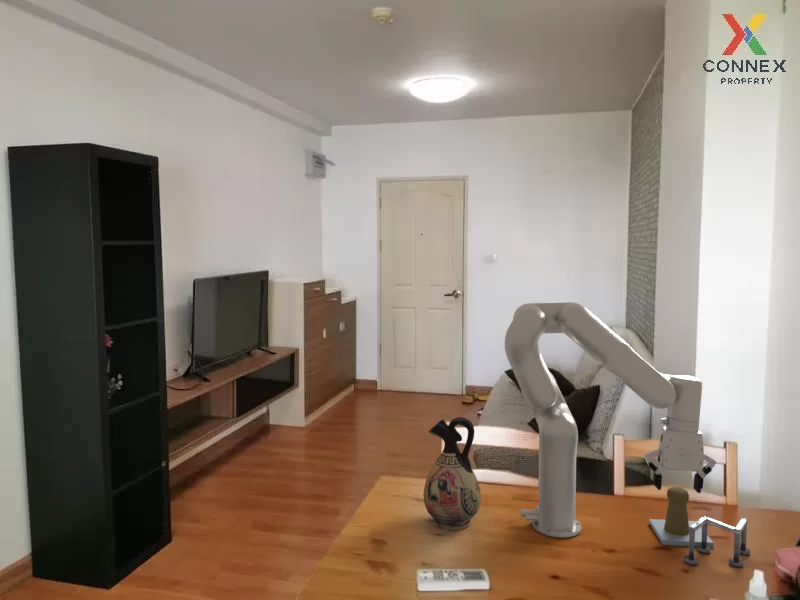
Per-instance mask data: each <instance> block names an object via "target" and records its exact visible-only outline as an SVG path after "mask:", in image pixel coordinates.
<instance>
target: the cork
mask: <svg viewBox="0 0 800 600" xmlns="http://www.w3.org/2000/svg"><path fill="white" fill-rule="evenodd" d="M666 497H667V499H668V504H667V509H666V514H665V515H666V516H665V519H664V520H665V526H664V529H665V531H667V532H669V533H671V534H674V535H681V536H684V535H688V534H689V522H688V521H689V514H688V506H687V505H688V504H687V503H688V502H689V500H690V494H689V492H688V490H687V489H685V488H682V487H679V486H672V487H669V488H668V489H667V490H666Z"/></svg>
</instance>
